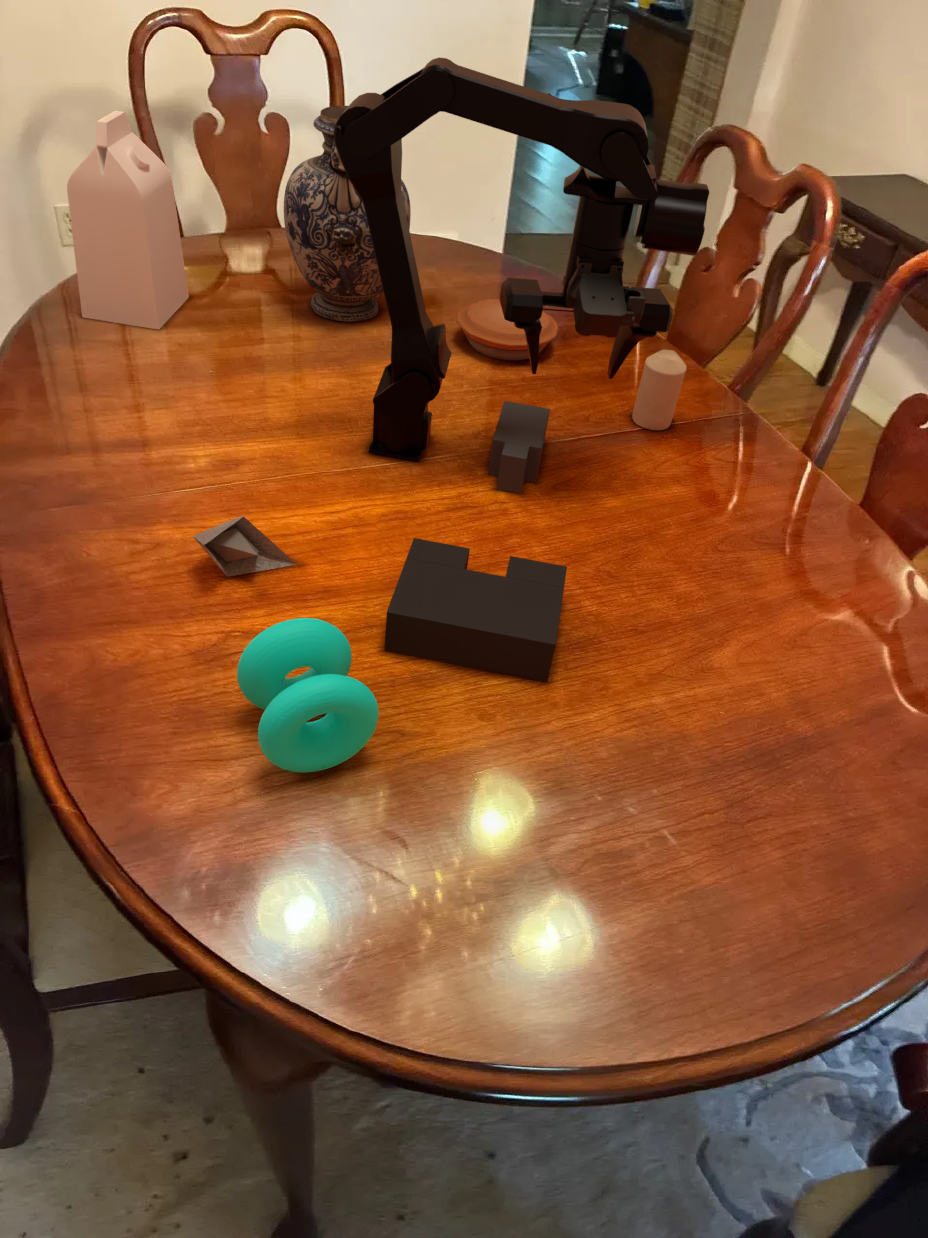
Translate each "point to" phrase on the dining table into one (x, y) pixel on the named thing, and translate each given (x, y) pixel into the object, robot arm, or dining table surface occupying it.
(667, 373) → the candle
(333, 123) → the decorative vase
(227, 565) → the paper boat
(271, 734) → the donuts
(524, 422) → the tongue pad
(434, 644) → the notch pad
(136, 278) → the milk
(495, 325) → the pie
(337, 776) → the dining table surface
